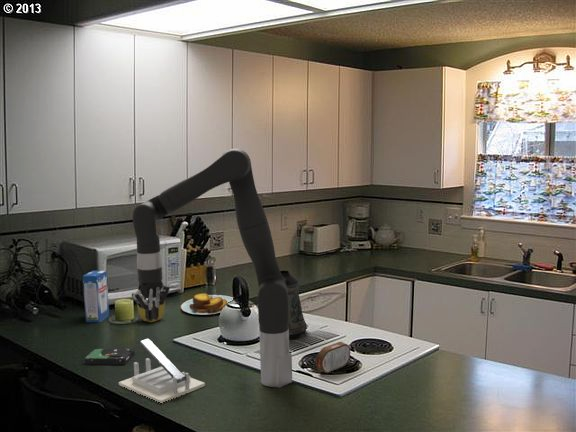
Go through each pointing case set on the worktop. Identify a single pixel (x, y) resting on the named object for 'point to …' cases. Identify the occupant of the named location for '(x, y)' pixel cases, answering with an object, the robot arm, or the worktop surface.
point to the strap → (162, 360)
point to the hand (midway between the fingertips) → (152, 319)
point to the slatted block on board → (159, 383)
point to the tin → (333, 357)
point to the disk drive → (109, 356)
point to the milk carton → (96, 296)
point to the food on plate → (205, 304)
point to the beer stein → (294, 307)
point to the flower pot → (161, 307)
